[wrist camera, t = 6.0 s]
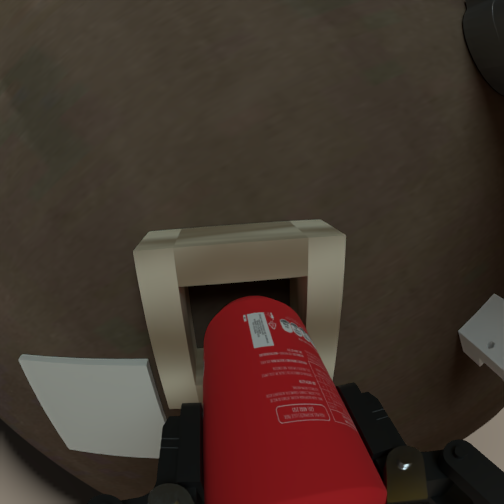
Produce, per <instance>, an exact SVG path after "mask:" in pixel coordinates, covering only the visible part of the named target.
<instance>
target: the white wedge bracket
mask: <svg viewBox="0 0 504 504" xmlns="http://www.w3.org/2000/svg"><path fill="white" fill-rule="evenodd" d="M458 333H459V337H460V341H461V345H462V349H463V352H464V353H466V354H467V355H468V356H469V357H470V358H471V359H472V360H473V361H474V362H475V363H476V364H477V365H479V366H481V365H482V364H483V363H485V364H486V365H488V366H489V367H490V368H491V369H492V370H493V371H494V372H495V373H496V374H497V375H498V376H499V377H501V378H502V379H503V380H504V299H503V298H501V297H499V296H498V295H496V294H495V293H494V294H493V295H492V296H491V297H490V299H489V300H488V301H487V302H486V303H485V304H484V305H483V306H482V307H481V308H480V309H479V310H478V311H477V312H476V314H475V315H474V316H473V317H472V318H471V319H470V320H469V321H468V322H467V323H466V324H465V325H464V326H463V327H462V328H461V329H459V330H458Z"/></svg>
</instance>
